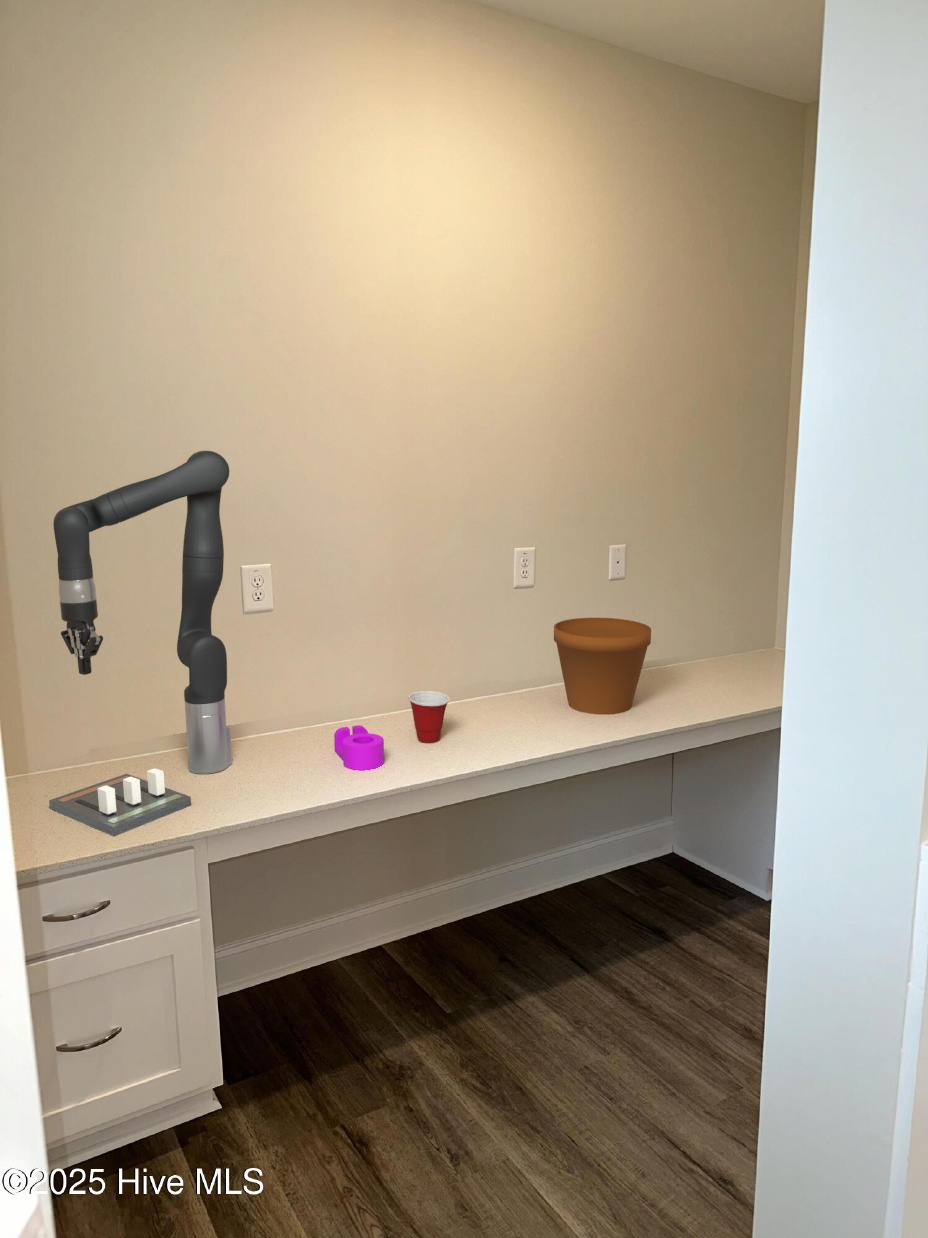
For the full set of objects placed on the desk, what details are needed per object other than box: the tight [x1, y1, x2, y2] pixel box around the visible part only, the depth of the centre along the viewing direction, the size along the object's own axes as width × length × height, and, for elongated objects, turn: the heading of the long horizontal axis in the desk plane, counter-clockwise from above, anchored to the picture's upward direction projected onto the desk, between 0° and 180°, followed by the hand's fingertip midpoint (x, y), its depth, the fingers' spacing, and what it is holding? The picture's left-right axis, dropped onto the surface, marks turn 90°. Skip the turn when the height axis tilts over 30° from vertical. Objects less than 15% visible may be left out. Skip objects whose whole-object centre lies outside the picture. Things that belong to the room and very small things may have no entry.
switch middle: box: [123, 777, 141, 805], centre depth 195 cm, size 2×3×5 cm, turn 54°
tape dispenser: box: [333, 725, 385, 772], centre depth 227 cm, size 16×10×6 cm, turn 24°
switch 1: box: [97, 785, 116, 814], centre depth 190 cm, size 2×3×5 cm, turn 54°
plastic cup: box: [408, 690, 451, 744], centre depth 240 cm, size 11×11×12 cm
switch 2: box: [146, 768, 166, 796], centre depth 200 cm, size 2×3×5 cm, turn 54°
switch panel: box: [48, 773, 192, 837], centre depth 198 cm, size 19×23×2 cm
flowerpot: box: [553, 617, 652, 716], centre depth 269 cm, size 28×28×24 cm
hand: (85, 673), depth 207 cm, fingers closed
